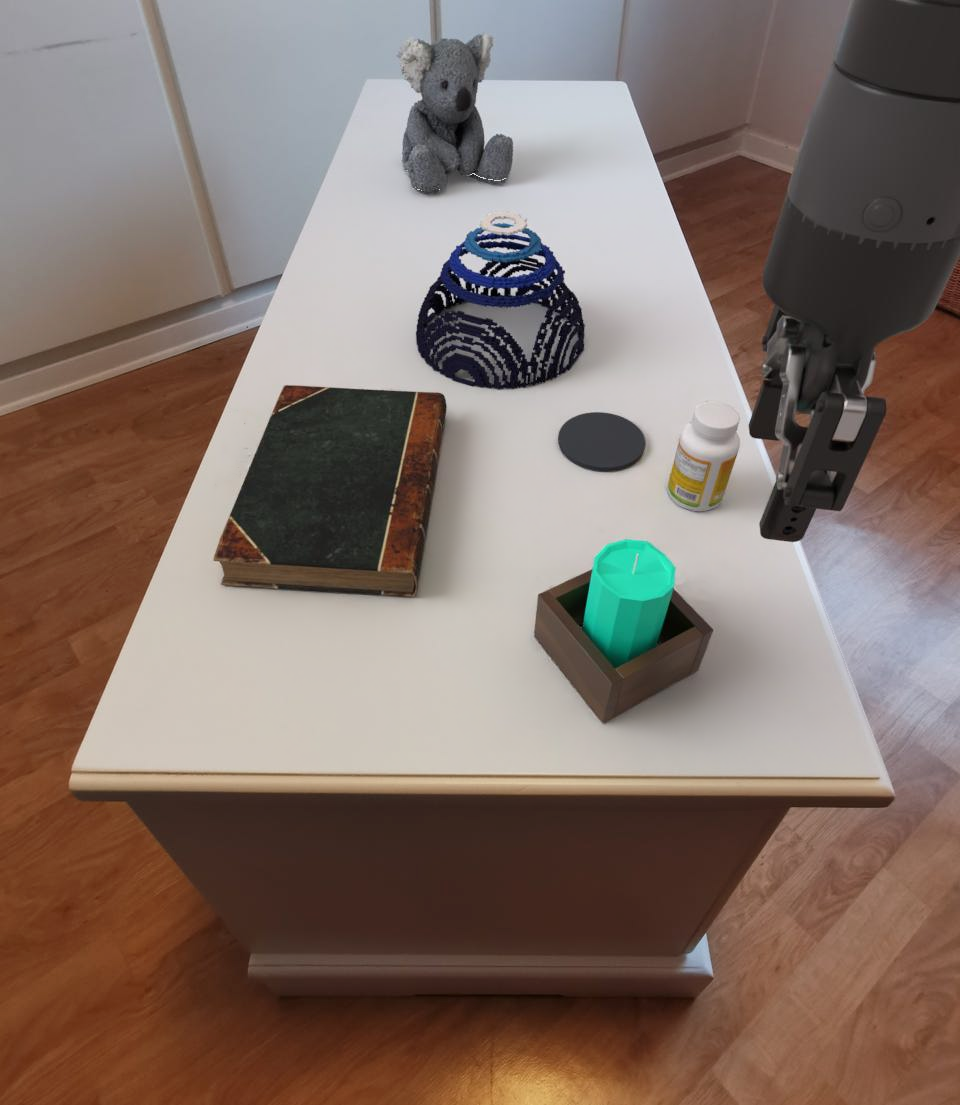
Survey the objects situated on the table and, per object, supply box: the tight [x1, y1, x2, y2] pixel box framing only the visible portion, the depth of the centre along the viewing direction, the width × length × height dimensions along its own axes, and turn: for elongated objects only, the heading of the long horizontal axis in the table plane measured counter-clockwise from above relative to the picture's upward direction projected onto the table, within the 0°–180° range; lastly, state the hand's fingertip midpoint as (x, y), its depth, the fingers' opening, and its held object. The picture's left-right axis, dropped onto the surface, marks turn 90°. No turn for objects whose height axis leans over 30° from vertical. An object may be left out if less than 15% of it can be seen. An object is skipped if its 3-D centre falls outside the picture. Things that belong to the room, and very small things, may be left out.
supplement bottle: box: [667, 400, 741, 512], centre depth 72 cm, size 5×5×10 cm
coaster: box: [557, 411, 646, 473], centre depth 81 cm, size 9×9×1 cm
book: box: [213, 384, 448, 598], centre depth 74 cm, size 17×4×25 cm
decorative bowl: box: [415, 211, 586, 391], centre depth 88 cm, size 20×20×14 cm
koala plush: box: [396, 31, 514, 195], centre depth 120 cm, size 17×18×20 cm
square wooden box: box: [533, 568, 714, 725], centre depth 61 cm, size 10×10×6 cm
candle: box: [581, 538, 677, 669], centre depth 58 cm, size 6×6×12 cm
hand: (771, 482), depth 44 cm, fingers open, 8 cm apart
